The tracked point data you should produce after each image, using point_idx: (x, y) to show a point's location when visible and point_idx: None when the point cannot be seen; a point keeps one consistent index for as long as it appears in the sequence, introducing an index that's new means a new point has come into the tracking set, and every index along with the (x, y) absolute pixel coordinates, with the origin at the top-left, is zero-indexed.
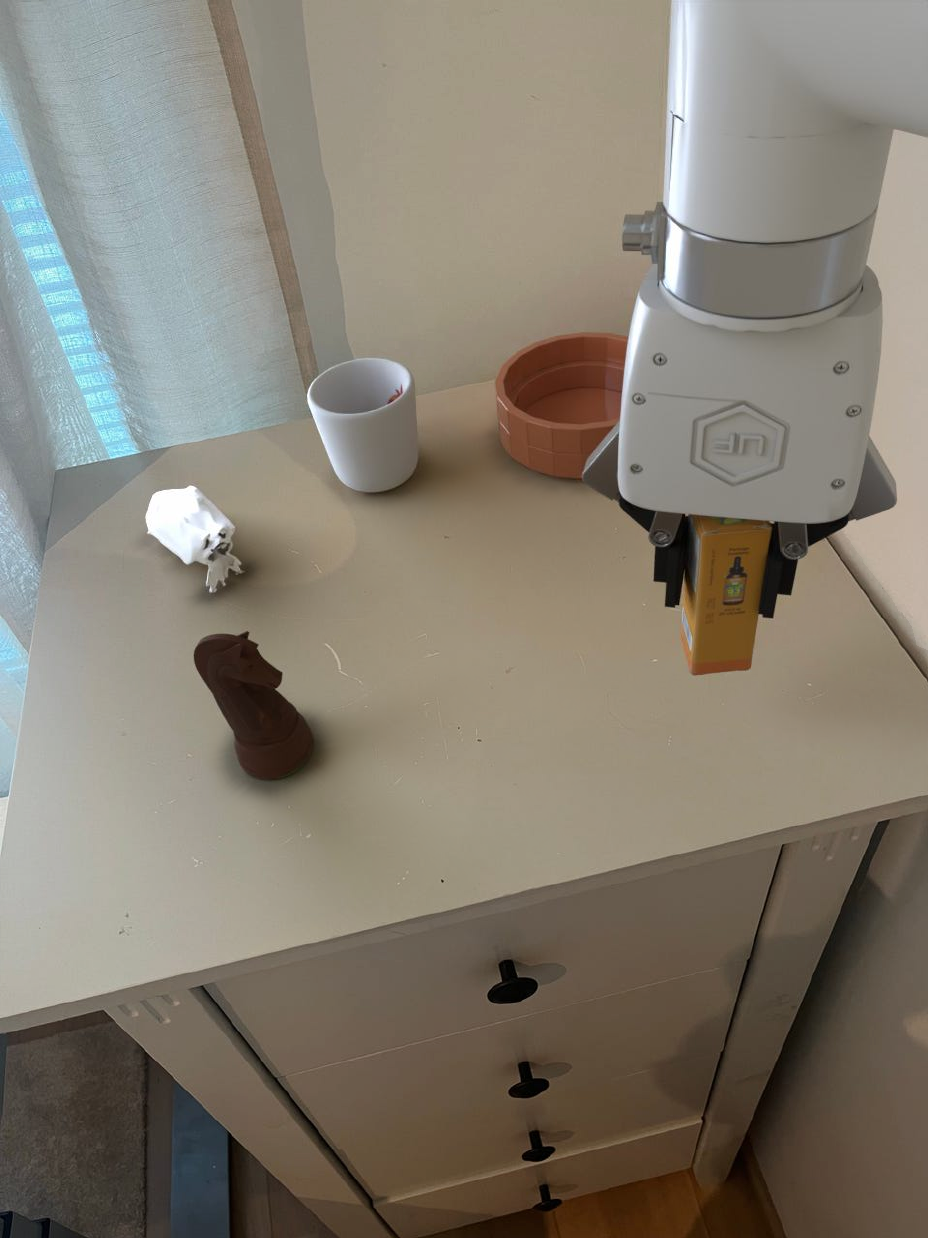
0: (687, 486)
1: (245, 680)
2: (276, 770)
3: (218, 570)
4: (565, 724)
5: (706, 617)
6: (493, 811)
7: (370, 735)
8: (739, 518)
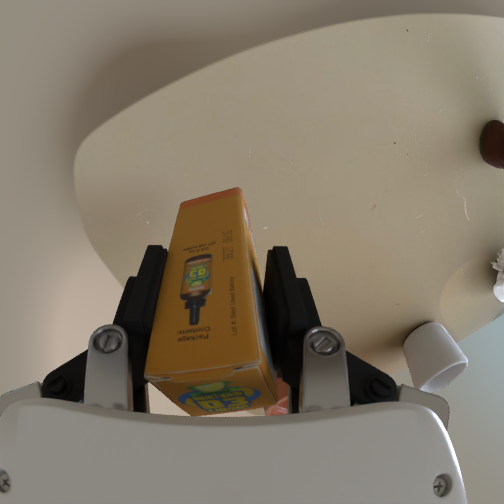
0: (333, 494)
1: None
2: (497, 123)
3: (502, 260)
4: (334, 160)
5: (231, 236)
6: (382, 80)
7: (454, 149)
8: (188, 420)
